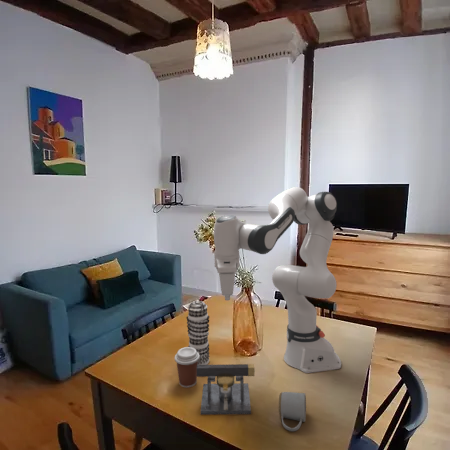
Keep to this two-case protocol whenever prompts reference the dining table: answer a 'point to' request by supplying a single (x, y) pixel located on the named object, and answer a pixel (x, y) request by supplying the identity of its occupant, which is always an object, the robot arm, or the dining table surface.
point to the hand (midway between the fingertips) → (227, 298)
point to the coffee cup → (187, 366)
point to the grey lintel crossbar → (225, 373)
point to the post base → (232, 403)
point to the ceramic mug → (292, 408)
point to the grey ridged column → (199, 330)
